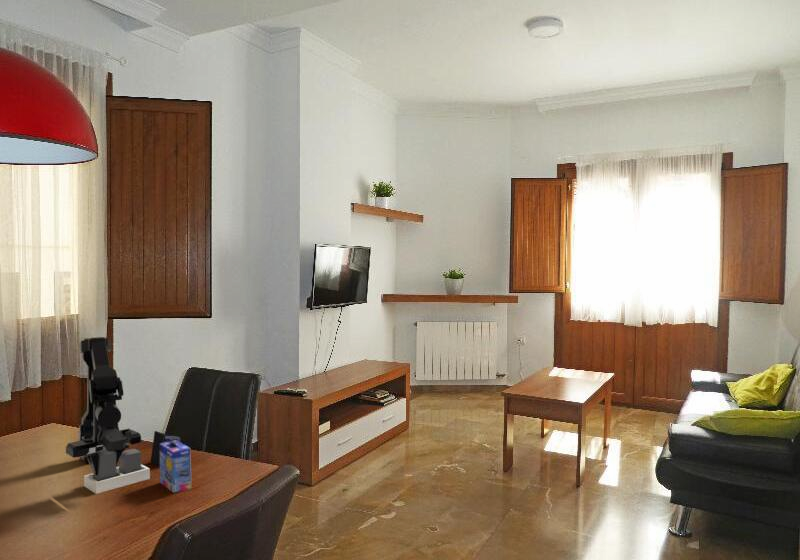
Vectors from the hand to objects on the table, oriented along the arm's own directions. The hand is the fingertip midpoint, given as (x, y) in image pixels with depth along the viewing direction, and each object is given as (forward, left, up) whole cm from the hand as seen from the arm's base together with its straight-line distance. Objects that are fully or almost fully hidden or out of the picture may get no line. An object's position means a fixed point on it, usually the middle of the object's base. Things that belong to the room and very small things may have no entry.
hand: (104, 472), depth 168 cm
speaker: (-6, +22, -4) cm, 23 cm away
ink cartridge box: (+14, +14, -4) cm, 20 cm away
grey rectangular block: (0, 0, -2) cm, 2 cm away
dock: (0, +4, -4) cm, 6 cm away
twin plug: (0, +7, -4) cm, 8 cm away
